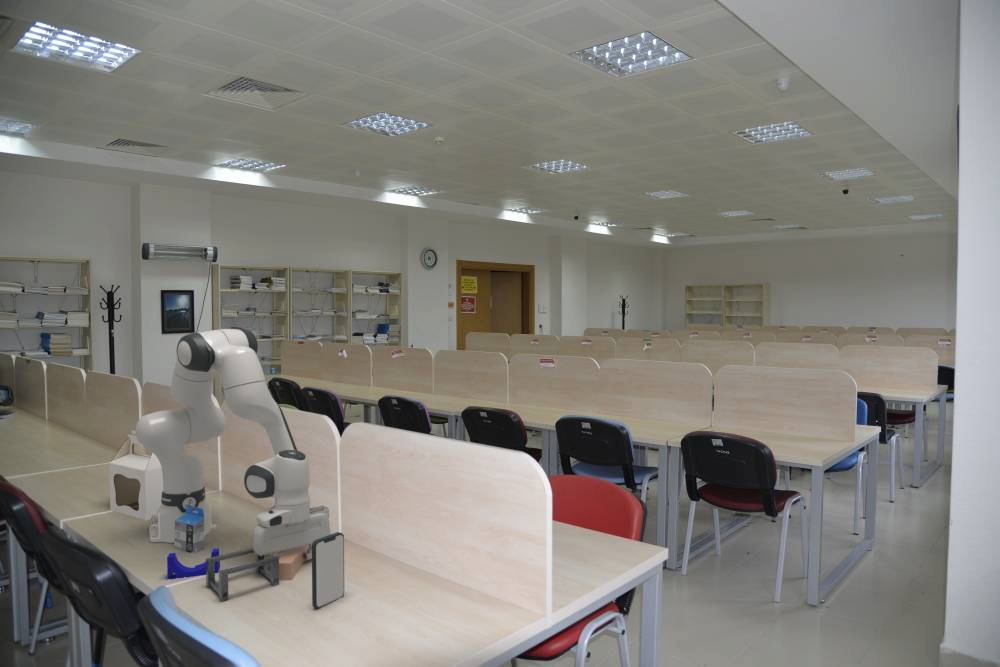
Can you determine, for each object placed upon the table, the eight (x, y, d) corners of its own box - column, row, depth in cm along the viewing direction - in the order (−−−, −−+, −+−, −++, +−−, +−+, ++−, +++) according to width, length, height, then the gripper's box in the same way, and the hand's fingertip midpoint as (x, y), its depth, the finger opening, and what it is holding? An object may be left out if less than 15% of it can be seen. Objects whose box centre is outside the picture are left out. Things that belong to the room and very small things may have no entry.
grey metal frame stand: (206, 586, 161) (205, 558, 161) (262, 571, 170) (261, 545, 170) (221, 602, 152) (221, 572, 152) (279, 585, 162) (278, 558, 161)
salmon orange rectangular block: (295, 558, 180) (295, 540, 180) (309, 558, 180) (309, 540, 180) (275, 582, 164) (275, 563, 164) (291, 582, 164) (291, 563, 164)
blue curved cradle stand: (220, 568, 173) (219, 546, 173) (218, 574, 169) (217, 552, 169) (170, 573, 170) (170, 551, 169) (167, 580, 165) (167, 557, 165)
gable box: (109, 512, 221) (108, 431, 220) (147, 502, 232) (146, 425, 231) (146, 523, 209) (144, 438, 208) (184, 512, 221) (183, 431, 220)
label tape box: (173, 549, 186) (172, 507, 186) (186, 545, 190) (185, 504, 189) (192, 555, 182) (192, 512, 182) (205, 550, 185) (205, 508, 185)
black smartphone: (340, 595, 156) (340, 530, 155) (345, 597, 155) (344, 531, 155) (310, 608, 149) (310, 540, 148) (315, 610, 148) (314, 542, 147)
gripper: (323, 501, 181) (324, 550, 181) (250, 516, 167) (251, 569, 168) (334, 506, 176) (334, 556, 176) (259, 522, 163) (260, 576, 163)
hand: (293, 563), depth 172 cm, fingers open, 7 cm apart
